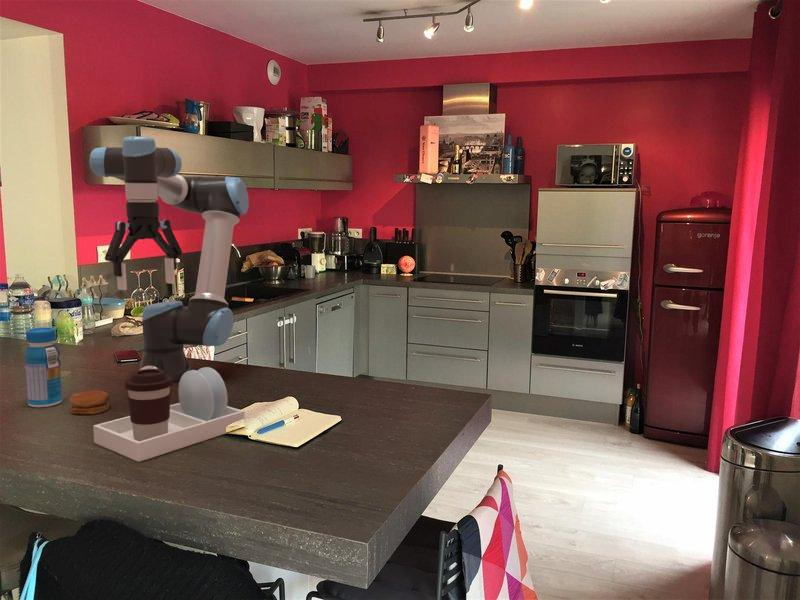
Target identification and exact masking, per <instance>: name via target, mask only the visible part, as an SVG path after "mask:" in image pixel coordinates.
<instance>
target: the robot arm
mask: <svg viewBox="0 0 800 600" xmlns="http://www.w3.org/2000/svg"><path fill="white" fill-rule="evenodd" d="M182 162H183V161H182V158H181V156H180V154H179V153H178V152H177V151H176V150H175V149H171V148H169V147H157V145H156V141H155V139H154V138H153V137H150V136H125V137H124V138H123V139H122V147H118V146H117V147H116V146H113V147H112V146H111V147H110V146H104V147H103V146H102V147H96V148H94V149H92V151H91V152H90V154H89V167H90V169H91V170H90V171H92V173H93V174H94V175H96V176H97V177H104V178H108V177H111V178H115V179H117V180H120V181H123V182H124V191H125V200H128V201H127V202H126V204H125V208H126V210H125V211H126V212H125V213H126V218H127V222H125V221H116V222H115V225H114V233H113V235H112V238H111V240H110V242H109V246H108V249H107V250H106V253H105V256H104V261H106V262H110V263H112V265H113V275H114V277H116V280H117V281H116V283H117V285H116V286H117V290H121V291H127V290H128V287H127V286H128V285H127V271H126V269H127V268H126V267H127V266H126V263H125V262H124V260H125V258H126V257H127V255H128V254H129V252H130V251H131V249H132V248H133V247H134V245H135V243H136V242H138V240H146V239H147V240H153V241H154V243H155V244H157V246H158V247H159V249H160V250H161V251H162V252H163V253H164V254H165V256H167V257H164V273H165V284H171V285H174V284H176V283H175V282H176V281H175V278H176V277H175V271H176V269H177V259H178V258H179V256H182V255H183V250H182V248H181V246H180V244H179V242H178V240H177V238H176V236H175V234H174V231H173V230H172V226H171V225H172V224H171V221H170V220H169V219H160V220H159V217H160V207H159V203H158V202H157V200H159V197H160V199H161V201H162V202H163V203H165V204H167V205H170V206H171V207H173V208H177V209H180V210H182V211H185V212H190V213H194V214H201V217H202V219H203V220H204V221H205V225H204V231H203V237H202V238H203V240H202V245H201V252H200V253H201V254H200V259H199V265H198V267H199V268H198V274H197V280H196V287H195V293H194V295H193V296H192V297H190V298H189V299H188V305H187V306H184V303H183V302H182V301H181V300H171V301H162V302H158V303H157V302H156V303H151V304H148V305H146V306H144V307H143V309H142V315H141V317H142V318H141V322H142V323H141V324H142V345H143V355H142V358H141V361H140V364H139V369H138V370H140V369H141V368H143V367H145V366H149V365H152V366H156V367H158V368H159V369H161V370H164V371H165V373H166V375H169V376H171V377H172V383H174V382H177V381H180V379H181V377H182V375H183V374H184V373H185V372H187V371H190V370H191V366H190V364H189V362H188V359H187V356H186V353H185V348H184V347H185V346H186V345H187V346H205V347H219V346H222V345H224V344H225V343H226V342H227V341H228V340H229V339H230V336H231V334H232V332H233V327H234V320H235V319H234V314H233V310H231V308H229V302H227V300H226V299H225V294H226V286H227V278H228V273H229V272H228V271H229V265H230V264H229V263H230V256H231V250H232V242H233V235H234V229H235V228H234V226H235V225H237V224H239V223H240V219H241V215H242V216H243V215H246V214H247V212H248V210H249V207H250V206H249V205H250V204H249V203H250V201H249V194H248V190H247V187H246V184H245V183H244V181H243V180H242V179H241V178H239V177H234V176H233V177H232V176H185V175H184V176H183V175H180V174H179V173H180V171H181V170H182V166H183V165H182V164H183V163H182ZM159 229H161V232H162V234H163V235H164V238H163V235H162V234H161V232H160V231H159ZM126 231H128V233H127V234H126ZM125 234H126V236H125ZM124 237H125V239H124ZM123 240H124V241H123Z"/></svg>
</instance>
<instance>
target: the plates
mask: <svg viewBox="0 0 800 600" xmlns="http://www.w3.org/2000/svg"><path fill="white" fill-rule="evenodd" d="M177 388H178V389H177V392H178V393H177V394H178V401H179V403H180V405H181V408H182V410H183V412H184V414H186V415H189V416H192V417H195V418H198V419H201V420H204V421H208V420H209V419H211V420H213V419H216V418H219V417H222V416H223V414H224V413H225V411H226V407H227V406H228V390H227V387H226V383H225V381H224V380H223V378H222V376H221V374H220V373H219V372H218V371H217V370H216V369H214V368H213V367H210V366H205V367H201V368H199V369H198V370H197V369H190V371H187V372H185V373H184V374H183V375H182V377H181V379H180V380H179V382H178V387H177Z"/></svg>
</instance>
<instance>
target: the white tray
mask: <svg viewBox="0 0 800 600" xmlns="http://www.w3.org/2000/svg"><path fill="white" fill-rule="evenodd" d="M245 416H246V415H245V410H242V409H238V408H235V407H232V406H228V405H227V407H226V411H225V413H224V414H223V416H222V417H219V418H216V419H213V420H211V419H209V420H208V421H204V420H201V419H198V418H195V417H192V416H189V415H186V414H184V412H183V410H182V408H181V405H180V402H178V403H172V404H170V417H169V419H168V433H166V434H163V435H160V436H156V437H153V438H150V439H146V440H143V441H137V440H135V439H134V436H133V428H132V422H131V420H130V415H128V416H125V417H122V418H117V419H113V420H110V421H105V422H102V423H101V422H100V423H98V424H94V425H93V444H96V445H98V446H101V447H103V448H105V449H108V450H111V451H112V452H115V453H117V454H119V455H122V456H124V457H125V458H128V459H131V460H133V461H135V462H139V463H140V462H143V461H146V460H149V459H152V458H155V457H158V456H161V455H165V454H168V453H170V452H174V451H177V450H180V449H182V448H186V447H189V446H191V445H192V446H193V445H195V444H198V443H201V442H204V441H208V440H209V439H213V438H217V437H219V436H223V435H226V434H227V433H226V427H227V426H228V425H230V424H232V423H234V422H236V421H239V420H241V419H244V418H245ZM245 419H246V418H245Z"/></svg>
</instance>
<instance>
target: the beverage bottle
mask: <svg viewBox="0 0 800 600" xmlns="http://www.w3.org/2000/svg"><path fill="white" fill-rule="evenodd" d="M56 335H57V334H56V329H55V328H54V327H47V326H46V327H35V328H28V329H27V330H26V331H25V339H26V340H25V341H26V343H27V344H29V345H28V346H27V347H26V350H25V352H24V355H23V356H24V359H25V363H24V370H25V381H26V383H25V384H26V395H27V396H26V397H27V400H26V402H27V405H28V406H29V407H32V408H46V407H47V408H48V407H52V406H57V405H58V404H60V403H62V401H63V391H62V373H61V372H62V371H61V370H62V369H61V366H62V363H61V360H60V358H59V357H60V355H61V354H60V350H59V348H58V347H57V345H56V344H55V343H54V342H56V338H57V337H56Z"/></svg>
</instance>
